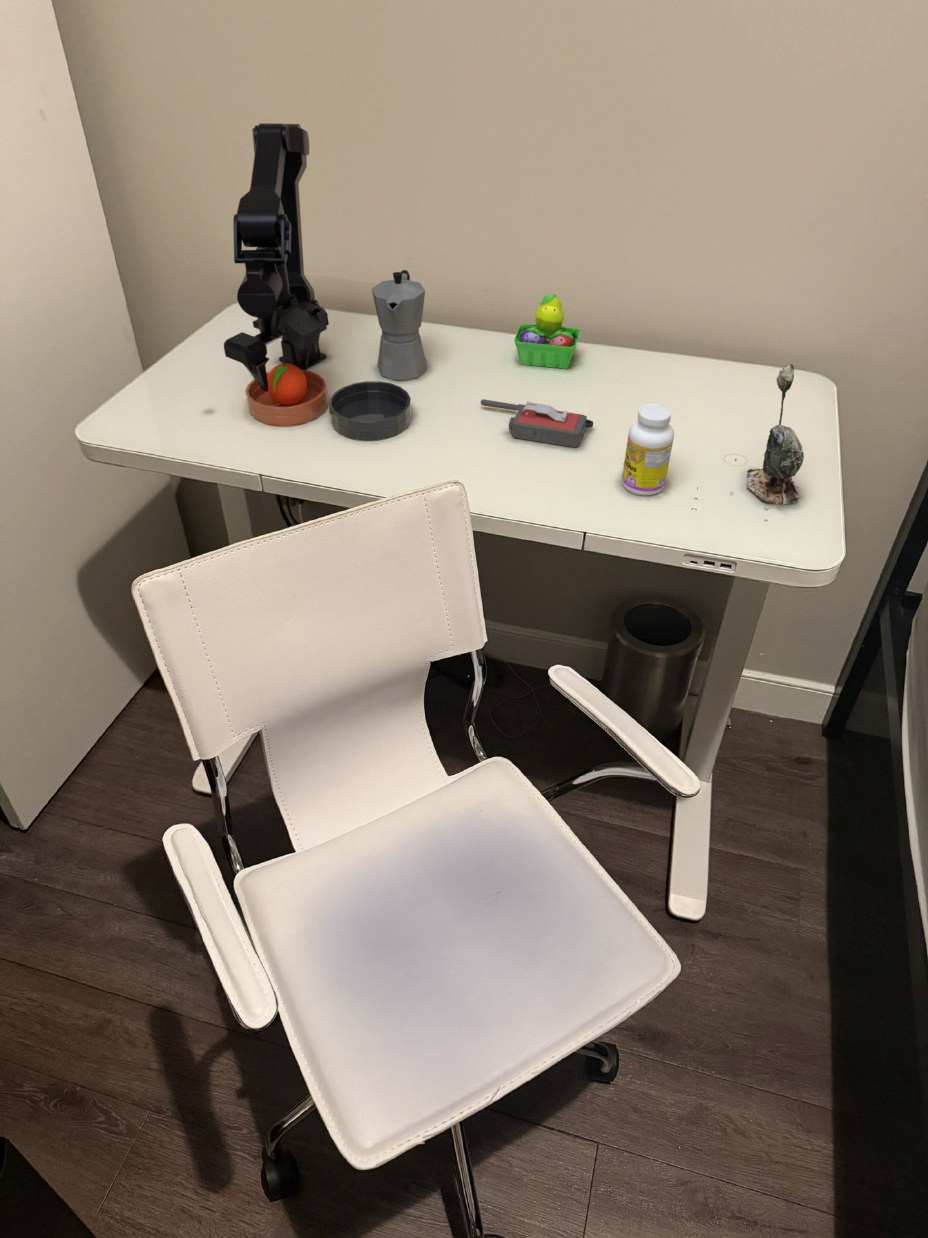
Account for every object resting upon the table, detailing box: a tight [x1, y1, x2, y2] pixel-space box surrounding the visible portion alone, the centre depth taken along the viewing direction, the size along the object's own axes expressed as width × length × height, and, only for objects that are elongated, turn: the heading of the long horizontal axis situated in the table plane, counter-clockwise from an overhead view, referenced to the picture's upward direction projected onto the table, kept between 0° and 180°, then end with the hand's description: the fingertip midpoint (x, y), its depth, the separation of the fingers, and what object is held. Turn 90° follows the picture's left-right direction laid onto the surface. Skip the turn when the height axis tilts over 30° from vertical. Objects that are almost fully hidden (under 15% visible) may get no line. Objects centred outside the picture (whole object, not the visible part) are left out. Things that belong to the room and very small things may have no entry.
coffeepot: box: [371, 269, 428, 382], centre depth 159 cm, size 15×9×18 cm, turn 174°
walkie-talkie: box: [480, 399, 594, 448], centre depth 148 cm, size 9×4×20 cm
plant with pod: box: [746, 363, 805, 505], centre depth 129 cm, size 8×11×20 cm
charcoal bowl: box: [328, 380, 412, 442], centre depth 150 cm, size 14×14×4 cm
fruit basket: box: [514, 293, 581, 370], centre depth 164 cm, size 11×9×11 cm
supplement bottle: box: [621, 403, 675, 496], centre depth 133 cm, size 7×7×13 cm
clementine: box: [267, 362, 307, 405], centre depth 152 cm, size 8×7×7 cm
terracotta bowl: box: [245, 369, 329, 427], centre depth 154 cm, size 14×14×4 cm
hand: (284, 379), depth 151 cm, fingers open, 9 cm apart
